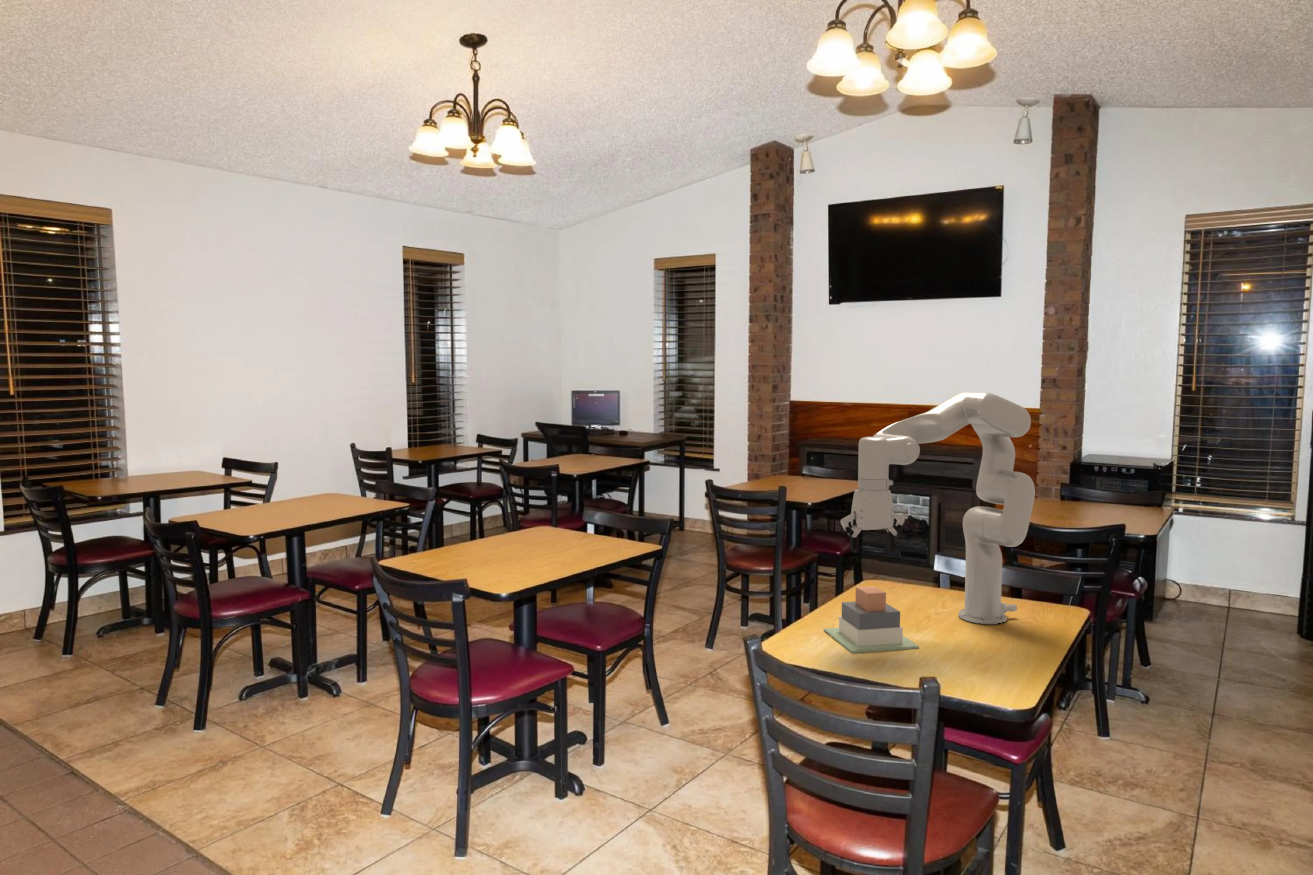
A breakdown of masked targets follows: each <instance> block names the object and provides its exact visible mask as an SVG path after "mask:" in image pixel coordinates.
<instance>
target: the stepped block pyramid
mask: <svg viewBox="0 0 1313 875" xmlns="http://www.w3.org/2000/svg"><path fill="white" fill-rule="evenodd" d="M903 629H904V628H903V627H902V626H901V611H900V610H898V609H897V608H895V607H893V606H891V605H890V604H888V603H886V610H879V611H866V610H865V609H863V608H862V607H860V606H858V605H857V604H856V601H841V616H839V617H838V627H831V628H829V627H827V628H823V632H825V633H826V632H827V633H828V634H829V635H828V634H827V633H826V634H827V635H828V636H829V637H831V636H832V637H833V638H834V639H833V638H832V637H831V638H832V639H833V640H835V641H836V642H837V641H838V642H839V643H838V642H837V643H838V644H840V645H841V646H842V647H843V646H844V648H845V649H846V650H847V651H848V652H850V654H858V653H872V652H873V653H874V652H887V651H901V650H903V651H904V650H914V649H916V650H918V649H920V646H919V645H918V644H917V643H915V642H914V641H912V640H910V639H909V638H908V637H906V636H904V635H903Z"/></svg>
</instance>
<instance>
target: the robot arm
mask: <svg viewBox="0 0 1313 875" xmlns="http://www.w3.org/2000/svg"><path fill="white" fill-rule="evenodd" d="M1031 418H1032V417H1031V414H1030V413H1029V412H1028V410H1027V409H1026V408H1025V407H1023V406H1021V405H1020V404H1017V403H1015V402H1013V401H1011V400H1008V399H1006V398H1004V397H1001V396H999V395H997V394H994V393H990V392H982V391H981V392H980V391H977V392H976V391H963V392H959V393H956V394H955V395H953V396H951V397H950V398H948V399H946V400H945V401H943V402H941V403H939V404H938V405H937V406H934V407H932V408H931V409H930V410H928V411H926V412H924V413H923V412H922V413H920V414H917V415H914V416H911V417H909V418H906V419H902V420H900V421H897V422H894V423H892V424H890V425H887V426H886V427H884V428H883V429H881V430H880V431H878V432H876V433H875V434H874V435H873V436H865V437H862V438H860V439H859V441H858V454H857V455H858V456H857V457H858V458H857V459H858V464H857V465H858V470H857V473H858V474H857V475H858V476H857V477H858V478H857V489H855V490H854V493H853V498H852V504H851V511H850V514H849V515H846V516H845V517H843V518H841V519H840V524H841V526H842V529H843V530H844V531H845V532H846V533H847V535H848V536H849V548H850V551H851V552H853V553H854V554H857V553H859V551H860V538H859V537H858V535H859V534H860V533H861V531H871V530H886V532H887V533H886V534H885V549H886V550H888V551H890V552H894V551H895V547H896V536H898V532H899V531H900V530H901V529H902V528H903V526H904V523H905V520H906V518H905V517H904V516H902V515H901V514H898V513H896V512H894V503H893V496H892V492H891V490H890V486H893V485H894V481H893V480H892V479H890V478H889V474H890V473H889V470H890V469H889V466H890V465H901V466H906V465H911V464H913V463H914V462H915V461H917V459H918V458H919V456H920V453H921V449H920V448H921V447H920V444H929V443H935V442H940V441H943V440H945V439H947V438H948V437H950V436H952V435H953V434H955V433H956V432H958V431H959V430H961V429H962V428H964V427H966V426H968V425H970V424H971V427H972V428H973V430H974V432H975V433H976V434H977V436H978V438H979V440H980V443H981V444H982V445H981V447H982V456H981V461H980V465H979V471H978V475H977V480H976V487H975V492H976V496H977V498H979V499H980V500H982V501H984V502H987V503H989V504H990V503H991V504H996V505H1003V509H999V508H994V507H989V506H974V507H971V508H968V510H967V511H966V512H965V513H964V515H963V518H962V530H963V536H964V540H965V541H964V542H965V572H964V573H965V576H964V578H965V579H964V580H965V581H964V583H965V584H964V608H963V609H960V610H959V611H958V617H959V618H960V619H961V620H964V621H966V622H970V623H973V624H979V623H980V625H999V624H998V623H1001V624H1003V623H1002V622H1004V623H1006V622H1005V621H1007V618H1008V617H1007V615H1006V613H1007V612H1016V611H1017V610H1018V608H1017V605H1016V604H1011V603H1010V604H1007V603H1006V602H1002V585H1003V583H1002V582H1003V574H1002V573H1003V555H1002V551H1001V548H1000V546H1004V547H1007V548H1008V547H1010V548H1013V547H1018V546H1019V545H1020V544H1022V543H1023V542H1024V540H1026V539H1025V538H1026V537H1027V534H1028V531H1029V526H1030V521H1031V516H1032V513H1033V512H1032V511H1033V507H1034V503H1035V498H1036V487H1035V483H1034V481H1033V479H1032V478H1031V476H1030V475H1028V474H1027V473H1024V472H1021V471H1014V466H1015V460H1016V449H1015V446H1014V443H1013V442H1012V439H1011V438H1019V437H1020V438H1021V437H1023V436H1024V435H1026V434H1027V433H1028V432H1029V430H1030V429H1031V427H1032V426H1031V424H1032V421H1031V420H1032V419H1031ZM895 519H896V523H895V522H894V520H895ZM849 523H850V524H851V526H852V527H850V526H849Z"/></svg>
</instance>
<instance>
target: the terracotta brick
mask: <svg viewBox="0 0 1313 875" xmlns="http://www.w3.org/2000/svg"><path fill="white" fill-rule="evenodd" d="M855 602H856V604H857V605H858V606H860V607H862V608H863V609H865V610H866V611H879V610H886V604H887V593H886V592H885V591H883V590H882V589H880V588H878V587H877V586H875V585H869V586H867V585H866V586H856V587H855Z"/></svg>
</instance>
